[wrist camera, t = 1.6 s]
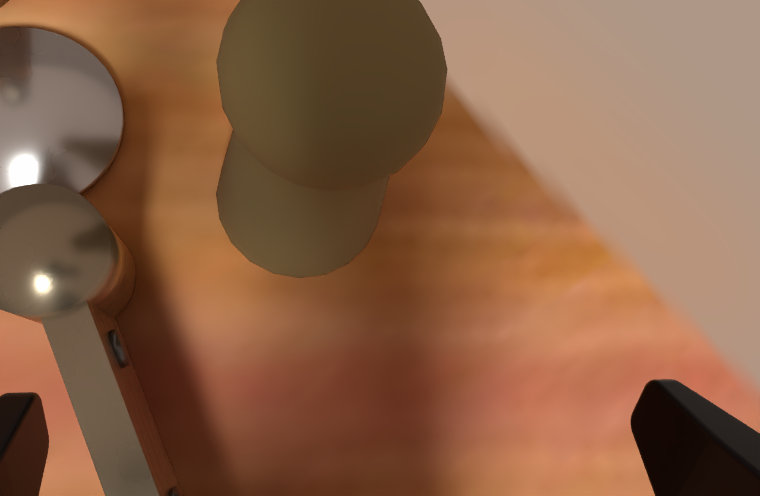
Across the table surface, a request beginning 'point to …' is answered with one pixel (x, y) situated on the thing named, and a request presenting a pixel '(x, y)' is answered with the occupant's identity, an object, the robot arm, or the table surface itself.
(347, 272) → the table surface
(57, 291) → the hinge frame
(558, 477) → the table surface
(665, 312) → the table surface
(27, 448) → the robot arm
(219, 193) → the olive rounded piece
